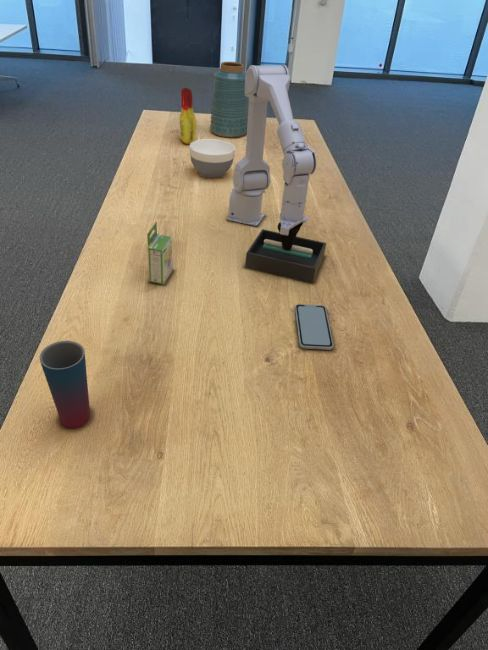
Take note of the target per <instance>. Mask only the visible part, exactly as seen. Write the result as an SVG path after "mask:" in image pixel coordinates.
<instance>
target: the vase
mask: <svg viewBox="0 0 488 650" xmlns="http://www.w3.org/2000/svg"><path fill="white" fill-rule="evenodd" d="M219 66H220V68H219V70H217V71H215V72H214V74H213V75H214V78H213V88H212V89H213V90H212V98H211V99H212V103H211V109H210V110H211V111H210V121H209V123H210V124H209V130H210V131H211V133H212V134H214V135H215V136H219V137H222V138H229V139H230V138H231V139H232V138H233V139H234V138H240V137H243V136H245V135H247V125H248V109H249V97H246V96H245V75H246V71H244V64H243V63H241V62H237V61H222V62H221V63H220V65H219Z"/></svg>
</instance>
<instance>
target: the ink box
mask: <svg viewBox="0 0 488 650" xmlns="http://www.w3.org/2000/svg"><path fill="white" fill-rule="evenodd" d="M157 223H158V222H157V221H155V222H154V224H153V225H152V227H151V228H150V229H149V231H147V233H146V241H147V257H148V258H147V259H148V260H147V261H148V262H147V263H148V281H149V283H153V284H157V285H162V286H164V285H166V282H167V280H169V278H170V276H171V274H172V272H173V271H174V266H173V265H174V263H173V262H174V261H173V237H172V236H169V235H163V234H158V225H157Z"/></svg>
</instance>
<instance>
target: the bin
mask: <svg viewBox="0 0 488 650" xmlns="http://www.w3.org/2000/svg"><path fill="white" fill-rule="evenodd" d="M265 239H268V240H273V241H277V242H282V240H281V235H280V232H279V231H278V232H277V231H274V230H270V229H269V230H268V229H264V228H262V229H261V230H260V232H259V233H258V235H257V236H256V237H255V239H254V241H253V242H252V243H251V245H250V247H249V248H248V249H247V251H246V255H245V266H244V267H245V268H246V269H250V270H255V271H257V272H263V273H266V274H271V275H275V276H280V277H283V278H288V279H293V280H296V281H301V282H305V283H310V284H313V283H314V282H315V279H316V277H317V274H318V272H319V269H320V267H321V265H322V263H323V260H324V257H325V252H326V247H327V242H324V241H319V240H315V239H310V238H305V237H300V236H297V235H296V238H295V241H294V244H293V245H296V246H300V247H305V248H309V249H312V250H313V256H312V258H311V259H304V258H300V257H295V256H291V255H287V254H282V253H278V252H273V251H269V250H264V249H263V245H264V240H265Z"/></svg>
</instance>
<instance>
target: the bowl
mask: <svg viewBox="0 0 488 650" xmlns="http://www.w3.org/2000/svg"><path fill="white" fill-rule="evenodd" d="M188 145H189V146H188V147H189V156H190V162H191V163H192V166H193V168H194V169H195V170H196V171H197V173H198V174H199V176H201V177H203V178H206V179H219V178H223V177H224V176H225V174H226V173H227V172H229V171H230V169H231V167H232V165H233V163H234V159H235V157H236V146H235V145H234V144H233V143H231V142H229V141H226V140H223V139H217V138H203V139H195V141H194V142H192V143H191V144H188Z"/></svg>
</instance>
